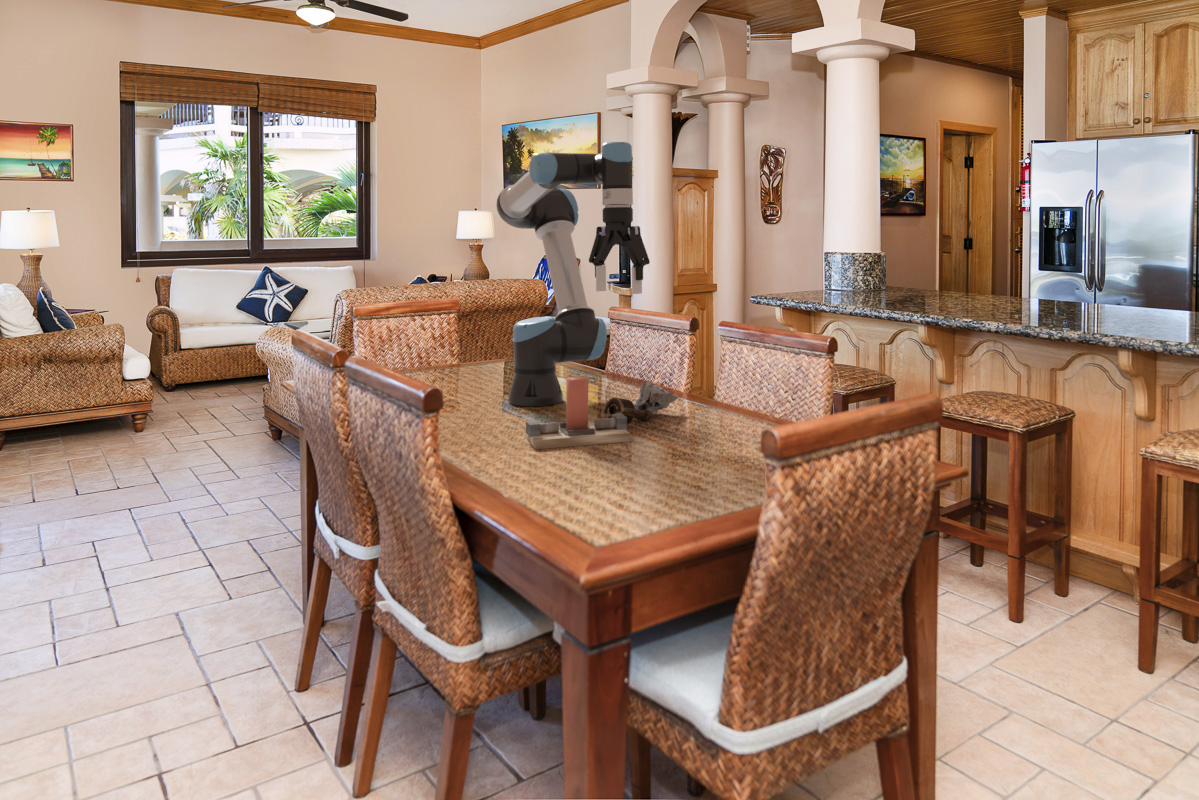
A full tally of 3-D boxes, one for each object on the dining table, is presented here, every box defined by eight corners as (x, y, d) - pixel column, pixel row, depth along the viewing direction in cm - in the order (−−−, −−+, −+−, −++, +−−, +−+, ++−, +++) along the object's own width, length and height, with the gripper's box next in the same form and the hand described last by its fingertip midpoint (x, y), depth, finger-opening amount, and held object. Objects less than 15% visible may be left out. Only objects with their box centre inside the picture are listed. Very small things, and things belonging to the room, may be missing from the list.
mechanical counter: (595, 400, 226) (607, 398, 217) (643, 391, 230) (656, 390, 220) (600, 428, 226) (612, 428, 217) (648, 419, 230) (661, 419, 220)
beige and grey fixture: (523, 437, 212) (522, 417, 211) (617, 429, 218) (616, 410, 217) (533, 449, 200) (532, 428, 199) (632, 441, 206) (631, 420, 205)
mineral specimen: (640, 429, 238) (663, 432, 228) (615, 408, 234) (638, 411, 224) (662, 395, 241) (686, 397, 231) (638, 374, 237) (661, 375, 227)
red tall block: (562, 429, 209) (562, 378, 206) (579, 426, 212) (579, 375, 209) (574, 433, 205) (575, 381, 202) (592, 430, 208) (592, 379, 205)
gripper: (574, 207, 231) (576, 290, 235) (640, 205, 212) (641, 295, 217) (596, 207, 236) (598, 289, 240) (663, 205, 217) (663, 293, 221)
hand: (618, 292), depth 228 cm, fingers open, 13 cm apart
